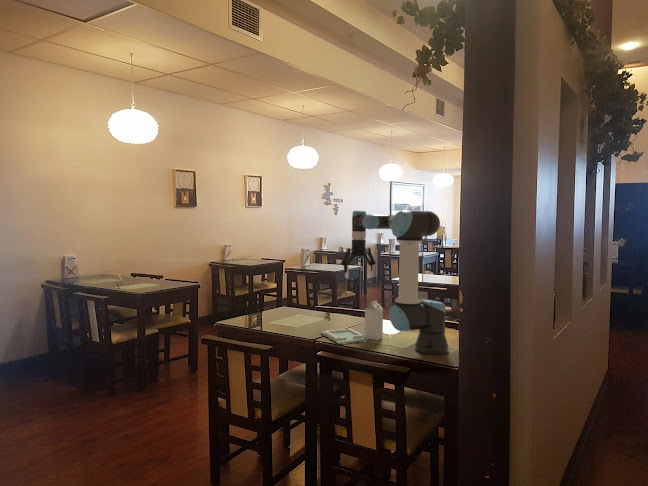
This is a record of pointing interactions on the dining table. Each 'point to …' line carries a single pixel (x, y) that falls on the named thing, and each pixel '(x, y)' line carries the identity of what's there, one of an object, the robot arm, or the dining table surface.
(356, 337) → the shallow tray
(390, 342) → the dining table surface
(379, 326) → the milk carton
